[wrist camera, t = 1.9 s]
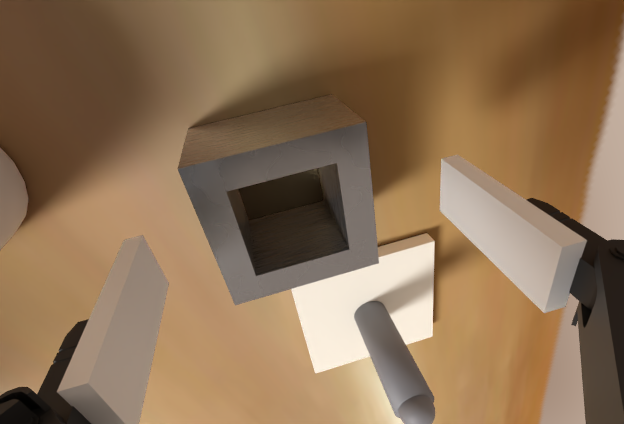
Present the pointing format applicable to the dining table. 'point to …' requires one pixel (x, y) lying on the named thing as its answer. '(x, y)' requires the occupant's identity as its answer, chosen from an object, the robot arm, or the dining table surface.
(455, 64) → the dining table surface
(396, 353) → the peg stand
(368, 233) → the grey square storage bin
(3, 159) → the cup
